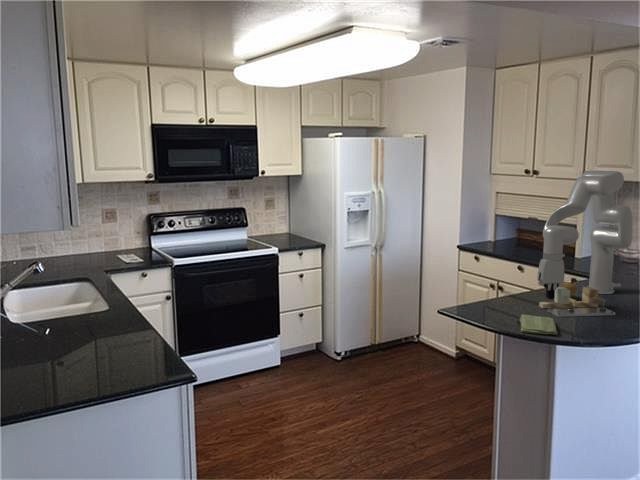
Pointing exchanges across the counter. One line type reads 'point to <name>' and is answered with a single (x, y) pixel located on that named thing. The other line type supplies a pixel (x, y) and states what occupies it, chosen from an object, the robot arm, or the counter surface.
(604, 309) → the bolt plate
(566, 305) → the rail
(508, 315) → the counter surface
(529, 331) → the washcloth
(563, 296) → the block
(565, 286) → the potato
